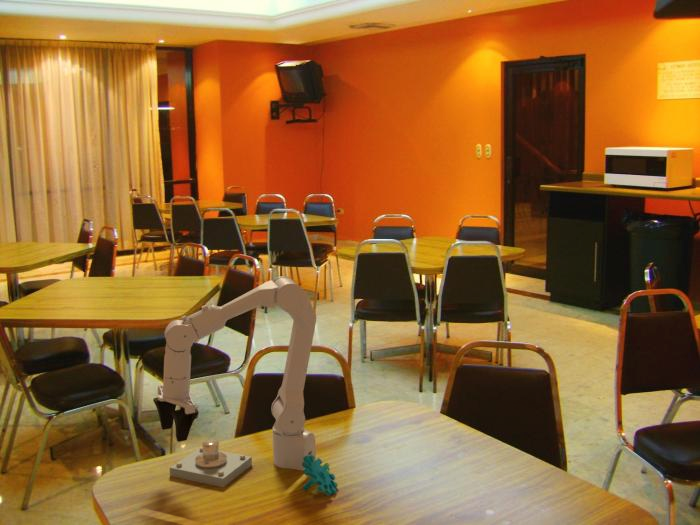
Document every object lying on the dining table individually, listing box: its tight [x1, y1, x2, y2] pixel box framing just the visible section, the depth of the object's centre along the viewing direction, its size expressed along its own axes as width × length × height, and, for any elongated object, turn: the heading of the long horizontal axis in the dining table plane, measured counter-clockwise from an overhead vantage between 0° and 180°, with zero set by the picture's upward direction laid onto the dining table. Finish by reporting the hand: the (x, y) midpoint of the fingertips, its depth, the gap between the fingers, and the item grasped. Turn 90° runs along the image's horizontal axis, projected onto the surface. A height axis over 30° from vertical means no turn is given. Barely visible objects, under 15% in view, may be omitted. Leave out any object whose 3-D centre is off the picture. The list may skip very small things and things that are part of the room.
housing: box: [169, 446, 253, 488], centre depth 172 cm, size 14×12×4 cm
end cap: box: [195, 439, 227, 469], centre depth 172 cm, size 7×7×6 cm
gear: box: [302, 455, 339, 496], centre depth 165 cm, size 11×6×10 cm
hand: (174, 434), depth 168 cm, fingers open, 7 cm apart
